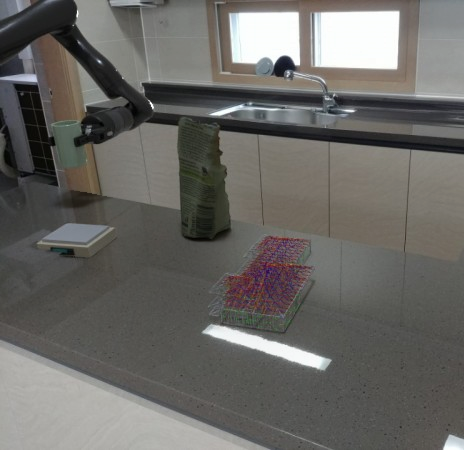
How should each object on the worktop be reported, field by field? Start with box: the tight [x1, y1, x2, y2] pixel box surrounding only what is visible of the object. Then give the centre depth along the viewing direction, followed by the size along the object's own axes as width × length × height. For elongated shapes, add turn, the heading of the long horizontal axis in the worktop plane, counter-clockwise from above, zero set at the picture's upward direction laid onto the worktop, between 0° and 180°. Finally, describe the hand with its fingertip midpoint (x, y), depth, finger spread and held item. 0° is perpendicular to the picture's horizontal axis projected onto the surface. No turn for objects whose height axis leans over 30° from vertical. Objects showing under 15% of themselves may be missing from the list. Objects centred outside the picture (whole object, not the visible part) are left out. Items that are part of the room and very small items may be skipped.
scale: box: [36, 222, 118, 259], centre depth 113 cm, size 12×10×3 cm
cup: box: [50, 119, 89, 169], centre depth 127 cm, size 6×6×10 cm
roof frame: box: [207, 234, 316, 333], centre depth 94 cm, size 30×15×5 cm, turn 162°
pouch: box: [176, 116, 232, 240], centre depth 112 cm, size 11×12×25 cm
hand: (62, 142), depth 124 cm, fingers closed on cup, 6 cm apart
